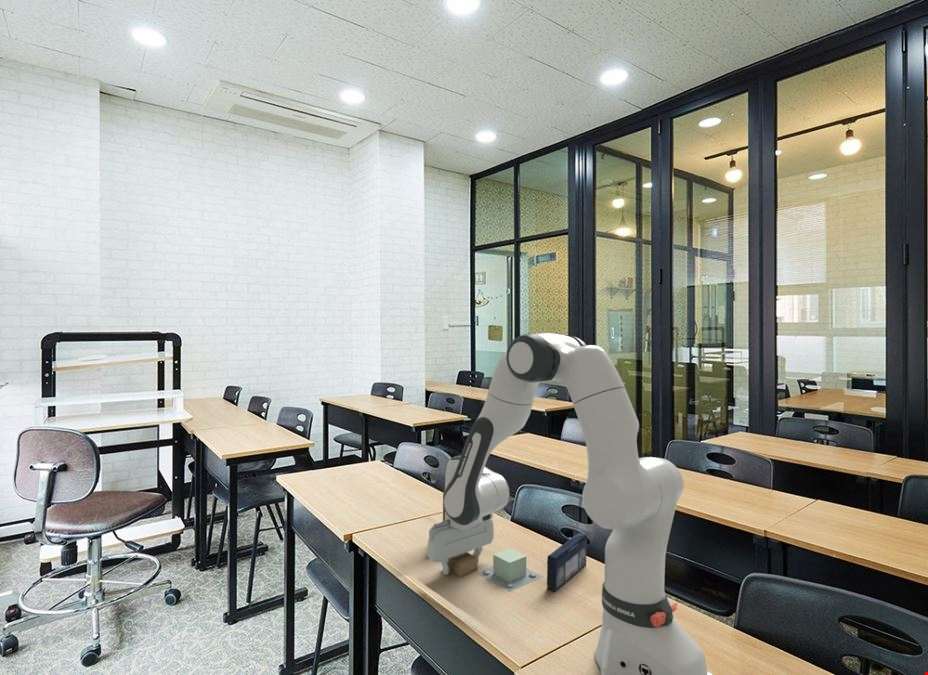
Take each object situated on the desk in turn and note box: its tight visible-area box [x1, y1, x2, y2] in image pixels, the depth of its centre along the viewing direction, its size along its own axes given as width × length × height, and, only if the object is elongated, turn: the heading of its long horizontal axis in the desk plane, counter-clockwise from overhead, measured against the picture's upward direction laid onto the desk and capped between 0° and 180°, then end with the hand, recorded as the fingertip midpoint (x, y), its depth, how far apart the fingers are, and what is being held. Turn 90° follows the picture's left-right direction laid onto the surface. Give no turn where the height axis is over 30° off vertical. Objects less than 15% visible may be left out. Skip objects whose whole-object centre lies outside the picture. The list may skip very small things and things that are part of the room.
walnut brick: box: [446, 551, 478, 578], centre depth 132 cm, size 6×6×5 cm
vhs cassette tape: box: [546, 532, 588, 593], centre depth 129 cm, size 18×3×10 cm, turn 141°
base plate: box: [477, 566, 544, 592], centre depth 130 cm, size 12×12×2 cm
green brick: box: [492, 548, 527, 583], centre depth 130 cm, size 6×6×5 cm
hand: (461, 568), depth 132 cm, fingers open, 8 cm apart
